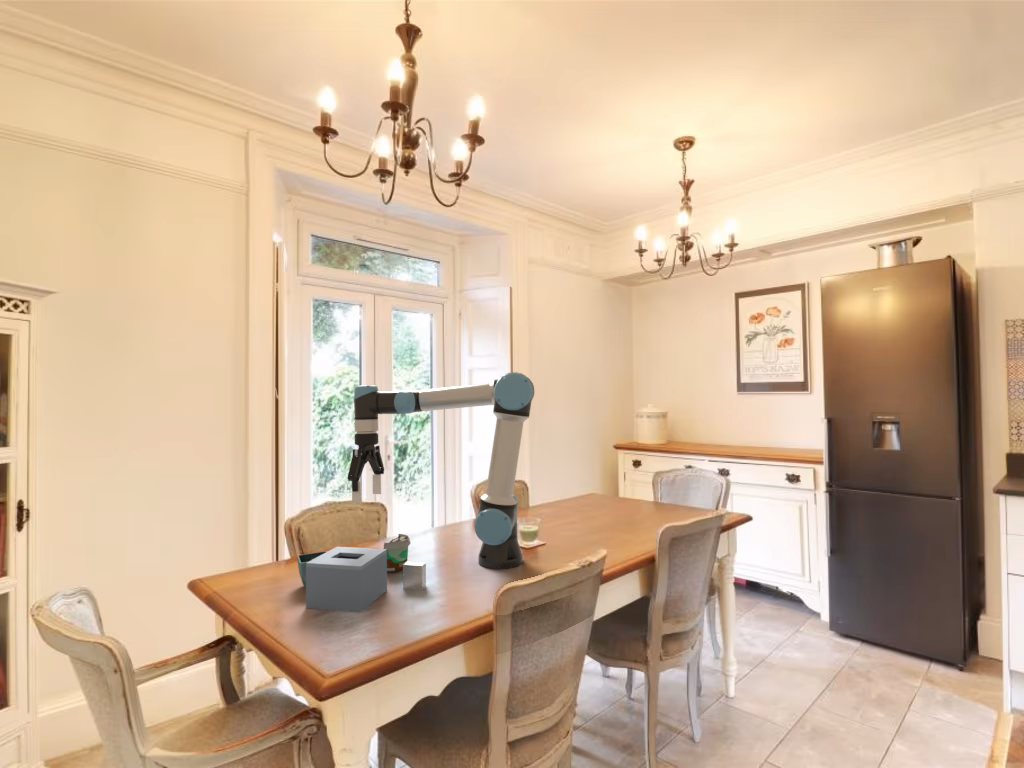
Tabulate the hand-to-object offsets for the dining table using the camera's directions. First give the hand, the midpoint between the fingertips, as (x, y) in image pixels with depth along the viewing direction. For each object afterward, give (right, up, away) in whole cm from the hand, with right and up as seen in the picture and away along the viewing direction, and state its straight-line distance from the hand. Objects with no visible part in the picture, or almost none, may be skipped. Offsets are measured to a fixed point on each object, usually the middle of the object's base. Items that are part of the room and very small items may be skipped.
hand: (367, 497), depth 172 cm
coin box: (+1, -23, -24) cm, 33 cm away
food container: (+10, -24, +2) cm, 26 cm away
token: (+18, -24, -15) cm, 33 cm away
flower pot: (-12, -24, -14) cm, 30 cm away
